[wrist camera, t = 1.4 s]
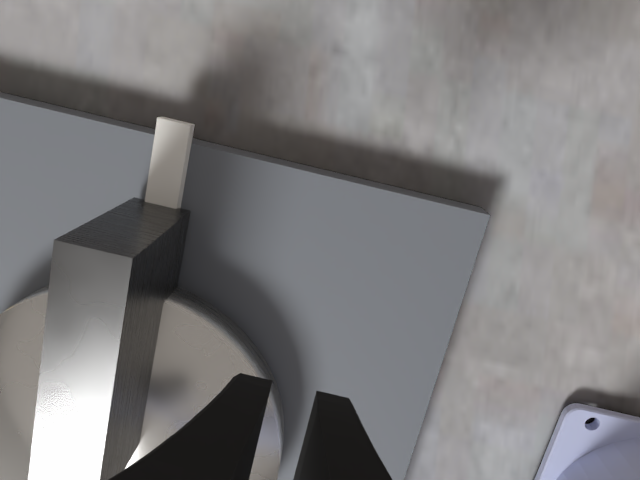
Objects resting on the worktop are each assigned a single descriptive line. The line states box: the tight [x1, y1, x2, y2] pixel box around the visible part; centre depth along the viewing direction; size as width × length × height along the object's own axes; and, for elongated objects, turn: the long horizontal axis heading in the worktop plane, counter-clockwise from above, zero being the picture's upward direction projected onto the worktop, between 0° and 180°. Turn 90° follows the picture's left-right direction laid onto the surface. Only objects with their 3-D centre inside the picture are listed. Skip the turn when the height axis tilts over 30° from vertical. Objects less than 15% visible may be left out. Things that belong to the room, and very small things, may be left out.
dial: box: [0, 197, 284, 480], centre depth 17 cm, size 14×11×5 cm
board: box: [0, 92, 490, 480], centre depth 20 cm, size 20×21×2 cm
